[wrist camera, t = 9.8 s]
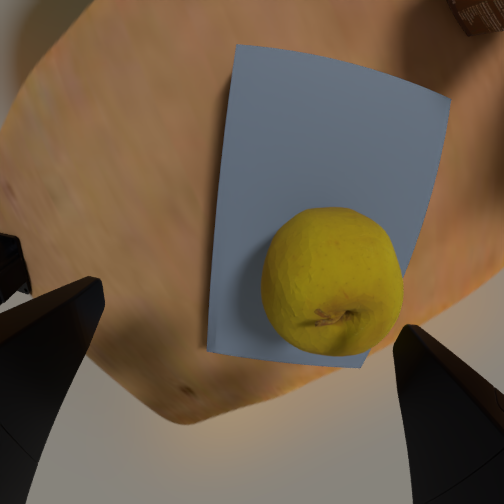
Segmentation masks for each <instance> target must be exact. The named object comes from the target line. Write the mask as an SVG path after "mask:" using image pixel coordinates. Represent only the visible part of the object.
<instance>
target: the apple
mask: <svg viewBox="0 0 504 504" xmlns="http://www.w3.org/2000/svg"><path fill="white" fill-rule="evenodd" d="M261 299H262V304H263V307H264V310H265V313H266V315H267V318H268V320H269V322H270V323H271V325H272V326H273V327H274V329H275V330H276V332H277V333H278V334H279V335H280V336H281V337H282V338H283V339H284V340H285V341H287V342H288V343H290V344H291V345H293V346H294V347H296V348H298V349H300V350H302V351H305V352H308V353H313V354H318V355H324V356H332V357H336V356H337V357H343V356H351V355H357V354H361V353H364V352H366V351H367V350H369V349H370V348H372V347H374V346H375V345H377V344H378V343H379V342H380V341H381V340H382V339H383V338H384V337H385V336H386V335H387V334H388V333H389V331H390V330H391V328H392V327H393V326H394V324H395V322H396V320H397V318H398V316H399V313H400V310H401V306H402V302H403V278H402V274H401V269H400V266H399V263H398V260H397V256H396V253H395V250H394V247H393V245H392V242H391V240H390V238H389V236H388V235H387V233H386V231H385V230H384V229H383V228H382V227H381V226H380V225H378V224H377V223H376V222H374V221H373V220H372V219H370V218H368V217H367V216H365V215H363V214H360V213H358V212H356V211H355V210H352V209H350V208H344V207H323V208H311V209H306V210H304V211H302V212H300V213H298V214H297V215H295V216H294V217H293V218H291V219H290V220H289V221H288V222H286V223H285V224H284V225H283V226H282V227H281V228H280V229H279V230H278V231H277V232H276V234H275V236H274V237H273V239H272V241H271V244H270V247H269V249H268V251H267V254H266V258H265V261H264V265H263V270H262V277H261Z"/></svg>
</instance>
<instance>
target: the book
mask: <svg viewBox="0 0 504 504" xmlns="http://www.w3.org/2000/svg"><path fill="white" fill-rule="evenodd" d="M450 103H451V99H450V98H448V97H445V96H443V95H441V94H439V93H436V92H434V91H432V90H429V89H427V88H424V87H422V86H419V85H417V84H414V83H411V82H409V81H406V80H403V79H400V78H398V77H395V76H392V75H389V74H386V73H383V72H379V71H376V70H373V69H370V68H366V67H363V66H359V65H355V64H352V63H348V62H344V61H340V60H336V59H331V58H327V57H322V56H317V55H312V54H307V53H301V52H296V51H290V50H283V49H276V48H268V47H260V46H250V45H238V44H237V45H236V51H235V58H234V65H233V72H232V79H231V86H230V94H229V101H228V109H227V117H226V125H225V134H224V142H223V151H222V160H221V169H220V179H219V189H218V199H217V210H216V221H215V233H214V245H213V257H212V271H211V285H210V301H209V318H208V336H207V352H213V353H219V354H225V355H231V356H238V357H245V358H252V359H259V360H267V361H275V362H284V363H293V364H304V365H315V366H328V367H344V368H361V366H362V364H363V362H364V361H365V359H366V357H367V355H368V353H369V351H370V349H371V348H370V349H369V350H367V351H366V352H364V353H361V354H357V355H351V356H343V357H337V356H336V357H332V356H324V355H318V354H313V353H308V352H305V351H302V350H300V349H298V348H296V347H294V346H293V345H291V344H290V343H288V342H287V341H285V340H284V339H283V338H282V337H281V336H280V335H279V334H278V333H277V332H276V330H275V329H274V327H273V326H272V325H271V323H270V322H269V320H268V318H267V315H266V313H265V310H264V307H263V304H262V299H261V277H262V270H263V265H264V261H265V258H266V254H267V251H268V249H269V247H270V244H271V241H272V239H273V237H274V236H275V234H276V232H277V231H278V230H279V229H280V228H281V227H282V226H283V225H284V224H285V223H286V222H288V221H289V220H290V219H291V218H293V217H294V216H295V215H297V214H298V213H300V212H302V211H304V210H306V209H311V208H323V207H344V208H350V209H352V210H355V211H356V212H358V213H360V214H363V215H365V216H367V217H368V218H370V219H372V220H373V221H374V222H376V223H377V224H378V225H380V226H381V227H382V228H383V229H384V230H385V231H386V233H387V235H388V236H389V238H390V240H391V242H392V245H393V247H394V250H395V253H396V256H397V260H398V263H399V266H400V269H401V274H402V278H403V277H404V274H405V272H406V269H407V267H408V264H409V261H410V259H411V256H412V253H413V250H414V248H415V245H416V242H417V239H418V236H419V233H420V230H421V227H422V224H423V221H424V217H425V214H426V211H427V208H428V204H429V201H430V197H431V194H432V190H433V186H434V183H435V179H436V175H437V171H438V166H439V162H440V158H441V153H442V149H443V144H444V139H445V134H446V128H447V123H448V117H449V110H450Z"/></svg>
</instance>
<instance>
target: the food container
mask: <svg viewBox="0 0 504 504" xmlns="http://www.w3.org/2000/svg"><path fill="white" fill-rule="evenodd" d="M447 2H448V4H449V6H450V9H451V11H452V12H453V14H454V16H455V18H456V19H457V21H458V23H459V24H460V26H461V27H462V29H463V30H464V31H465V33H466V34H467V35H468V36H473V35H479V34H485V33H491V32H499V31H504V0H447Z"/></svg>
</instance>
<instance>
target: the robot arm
mask: <svg viewBox="0 0 504 504" xmlns="http://www.w3.org/2000/svg"><path fill="white" fill-rule="evenodd" d="M16 291H19V292H22V293H25V294H29V293H30V292H31V287H30V284H29V280H28V277H27V273H26V269H25V265H24V261H23V257H22V252H21V247H20V243H19V239H18V238H17V237H16V236H13V235H8V234H4V233H0V305H1V304H2V303H5V302H6V301H7V300H8V299H9V298H10V297H11V296H12V295H13V294H14V293H15V292H16ZM104 307H105V299H104V292H103V285H102V281H101V280H100V279H99V278H96V277H91V276H87V277H84V278H82V279H80V280H77V281H75V282H72V283H70V284H67V285H65V286H63V287H60V288H58V289H55V290H53V291H51V292H48V293H46V294H43V295H41V296H39V297H36V298H34V299H32V300H30V301H27V302H25V303H23V304H20V305H18V306H16V307H13V308H11V309H9V310H7V311H4V312H2V313H0V504H25V503H26V500H27V496H28V493H29V489H30V487H31V483H32V481H33V477H34V474H35V472H36V469H37V466H38V462H39V460H40V457H41V454H42V451H43V449H44V446H45V444H46V441H47V438H48V436H49V433H50V431H51V428H52V426H53V424H54V421H55V418H56V416H57V414H58V412H59V409H60V407H61V405H62V403H63V400H64V398H65V396H66V394H67V391H68V389H69V387H70V385H71V383H72V381H73V379H74V377H75V375H76V372H77V370H78V368H79V366H80V364H81V362H82V360H83V358H84V356H85V354H86V352H87V350H88V348H89V345H90V343H91V340H92V338H93V335H94V333H95V330H96V328H97V325H98V323H99V320H100V318H101V315H102V313H103V310H104ZM393 357H394V365H395V373H396V383H397V392H398V398H399V403H400V408H401V414H402V420H403V425H404V431H405V438H406V444H407V451H408V459H409V467H410V476H411V486H412V497H413V504H504V394H502V393H501V392H500V391H499V390H498V389H496V388H495V387H494V386H493V385H492V384H490V383H489V382H488V381H487V380H486V379H484V378H483V377H482V376H481V375H479V374H478V373H477V372H476V371H475V370H473V369H472V368H471V367H470V366H468V365H467V364H466V363H465V362H464V361H462V360H461V359H460V358H459V357H457V356H456V355H455V354H454V353H452V352H451V351H450V350H449V349H447V348H446V347H445V346H444V345H442V344H441V343H440V342H439V341H437V340H436V339H435V338H433V337H432V336H431V335H430V334H428V333H427V332H426V331H424V330H423V329H422V328H421V327H419V326H418V325H411V324H407V325H405V326H404V327H403V328H402V330H401V332H400V334H399V336H398V338H397V339H396V341H395V343H394V346H393Z"/></svg>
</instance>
